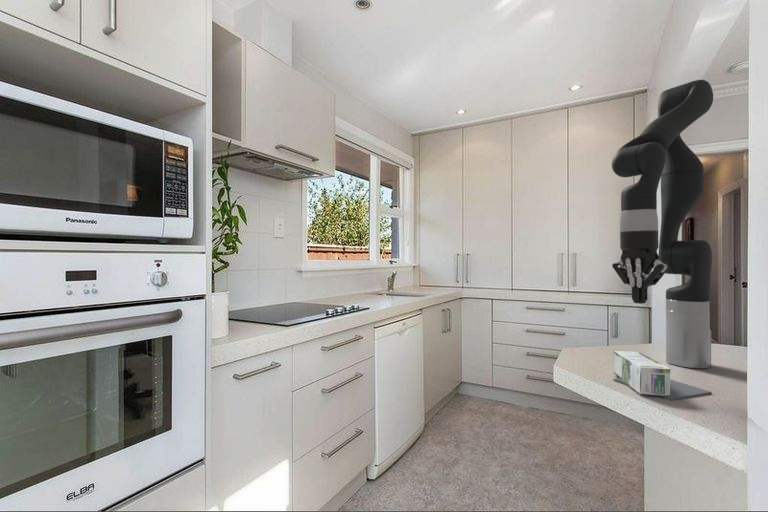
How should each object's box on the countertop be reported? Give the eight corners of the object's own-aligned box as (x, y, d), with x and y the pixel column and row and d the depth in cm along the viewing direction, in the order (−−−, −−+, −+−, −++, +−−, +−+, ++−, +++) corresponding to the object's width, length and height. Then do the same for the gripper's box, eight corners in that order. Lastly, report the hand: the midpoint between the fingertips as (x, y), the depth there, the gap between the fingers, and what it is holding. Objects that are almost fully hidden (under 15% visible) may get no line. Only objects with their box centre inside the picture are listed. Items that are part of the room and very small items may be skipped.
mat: (650, 375, 93) (650, 373, 93) (711, 393, 80) (711, 391, 80) (613, 380, 89) (613, 378, 89) (671, 400, 76) (671, 398, 76)
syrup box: (638, 375, 92) (672, 396, 77) (611, 373, 93) (640, 395, 78) (638, 351, 92) (672, 368, 77) (611, 350, 93) (640, 367, 78)
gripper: (679, 228, 85) (680, 305, 85) (624, 231, 97) (625, 299, 98) (655, 227, 82) (655, 307, 83) (602, 231, 95) (603, 300, 95)
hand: (639, 303), depth 90 cm, fingers closed
